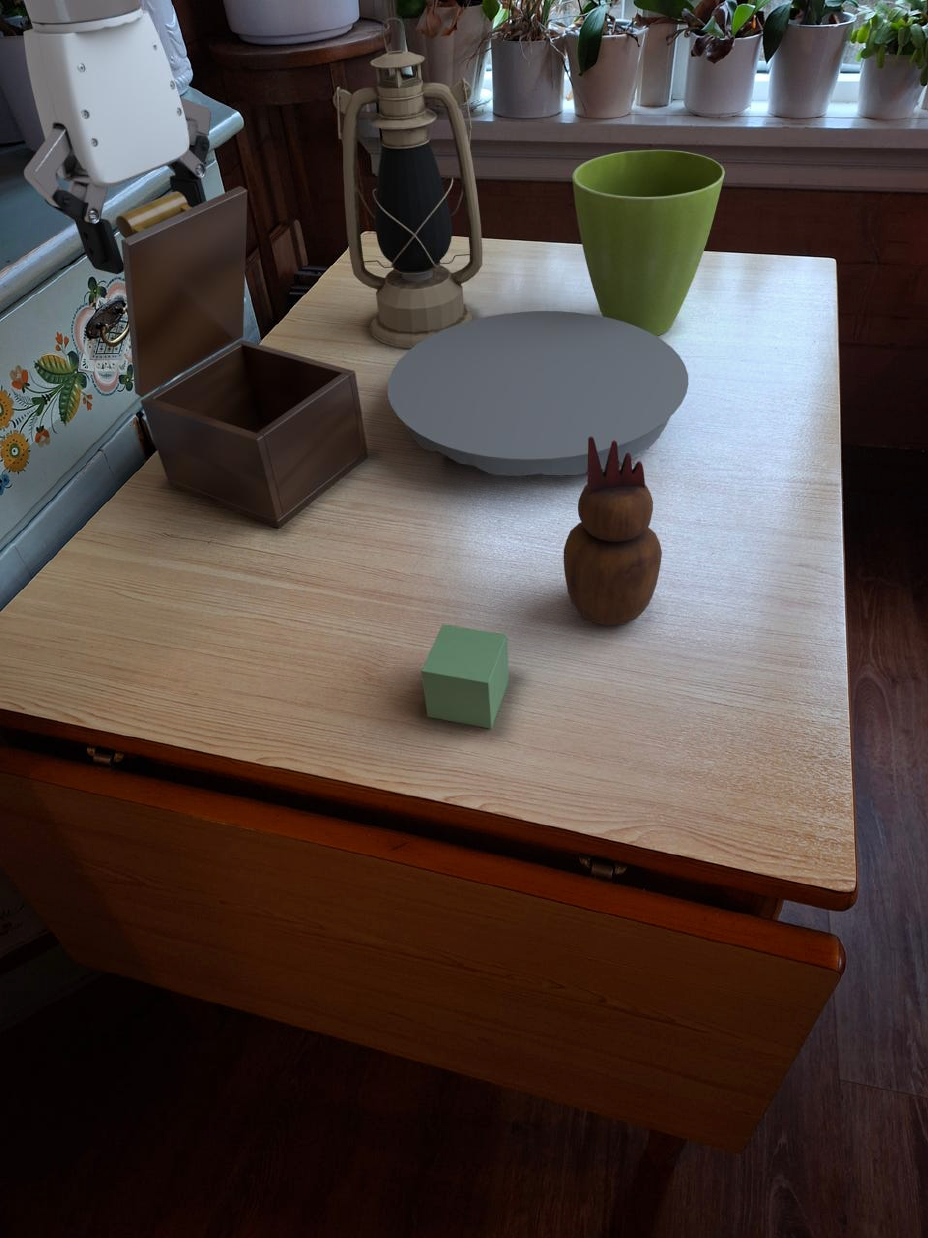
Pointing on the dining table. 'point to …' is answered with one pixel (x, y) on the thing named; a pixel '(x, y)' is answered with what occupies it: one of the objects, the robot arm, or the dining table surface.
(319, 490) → the chest
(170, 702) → the dining table surface
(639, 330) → the flat disc
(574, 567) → the wooden figurine
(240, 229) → the lid
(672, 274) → the flower pot
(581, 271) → the dining table surface
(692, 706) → the dining table surface
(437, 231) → the lantern
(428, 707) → the block
